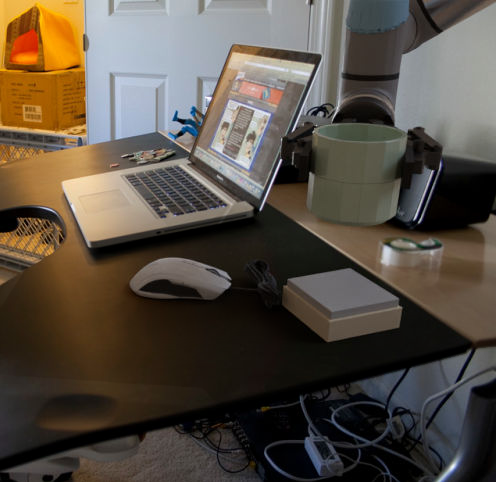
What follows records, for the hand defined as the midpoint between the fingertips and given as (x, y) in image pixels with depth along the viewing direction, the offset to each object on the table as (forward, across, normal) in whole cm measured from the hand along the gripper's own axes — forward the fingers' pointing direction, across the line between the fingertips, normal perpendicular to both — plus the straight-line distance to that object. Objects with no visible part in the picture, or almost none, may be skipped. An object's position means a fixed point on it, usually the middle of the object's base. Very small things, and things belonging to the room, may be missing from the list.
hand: (353, 172), depth 63 cm
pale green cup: (-5, 0, -6) cm, 8 cm away
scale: (-3, 0, -18) cm, 18 cm away
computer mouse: (-4, +16, -18) cm, 24 cm away
